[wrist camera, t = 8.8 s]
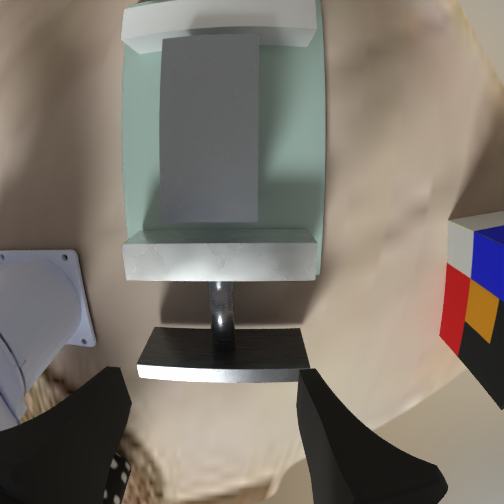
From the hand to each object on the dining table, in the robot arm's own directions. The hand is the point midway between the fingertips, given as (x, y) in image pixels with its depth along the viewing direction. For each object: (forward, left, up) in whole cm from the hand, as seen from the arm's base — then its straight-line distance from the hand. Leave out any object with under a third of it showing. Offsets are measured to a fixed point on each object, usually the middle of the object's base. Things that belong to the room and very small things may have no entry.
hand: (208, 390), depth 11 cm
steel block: (0, +10, -9) cm, 13 cm away
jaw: (0, 0, -9) cm, 9 cm away
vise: (0, +10, -10) cm, 14 cm away
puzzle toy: (+22, +1, -10) cm, 24 cm away
